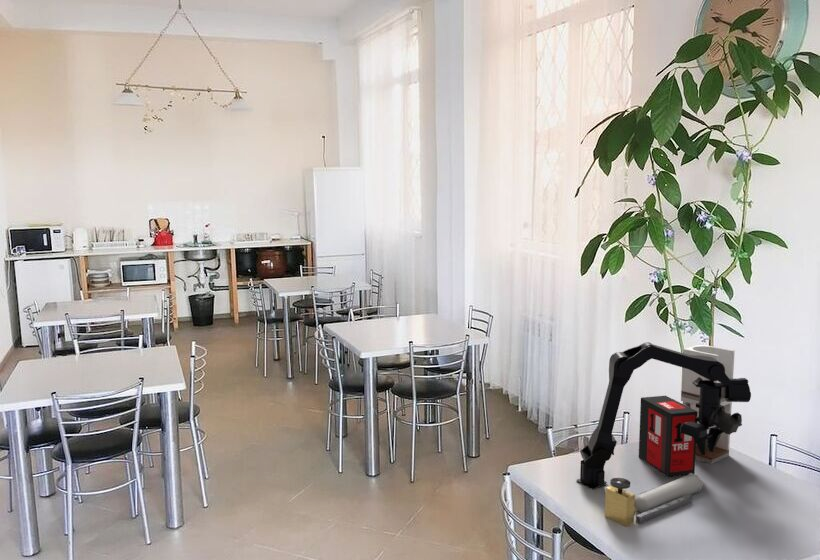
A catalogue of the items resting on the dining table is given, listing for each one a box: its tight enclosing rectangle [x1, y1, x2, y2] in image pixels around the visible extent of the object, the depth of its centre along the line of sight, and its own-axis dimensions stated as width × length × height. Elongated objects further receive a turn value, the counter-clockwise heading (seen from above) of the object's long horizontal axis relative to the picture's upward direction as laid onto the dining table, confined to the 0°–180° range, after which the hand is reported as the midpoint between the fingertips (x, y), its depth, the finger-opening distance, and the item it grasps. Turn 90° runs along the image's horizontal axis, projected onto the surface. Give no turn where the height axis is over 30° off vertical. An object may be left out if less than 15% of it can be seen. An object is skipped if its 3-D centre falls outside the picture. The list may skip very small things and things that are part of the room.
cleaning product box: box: [638, 395, 698, 479], centre depth 218 cm, size 16×9×20 cm, turn 13°
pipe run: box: [604, 477, 693, 527], centre depth 189 cm, size 9×27×11 cm, turn 123°
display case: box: [680, 344, 735, 465], centre depth 226 cm, size 11×11×35 cm
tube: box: [634, 473, 703, 513], centre depth 194 cm, size 5×5×25 cm
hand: (707, 453), depth 203 cm, fingers open, 4 cm apart
